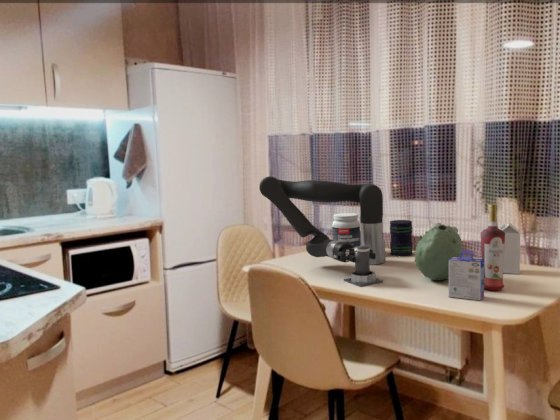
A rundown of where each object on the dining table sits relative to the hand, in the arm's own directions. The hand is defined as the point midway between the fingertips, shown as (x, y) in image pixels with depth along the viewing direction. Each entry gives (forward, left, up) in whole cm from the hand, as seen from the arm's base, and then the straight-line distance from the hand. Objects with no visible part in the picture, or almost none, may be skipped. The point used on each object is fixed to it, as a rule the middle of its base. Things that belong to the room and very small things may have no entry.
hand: (365, 258), depth 174 cm
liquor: (-28, +31, -9) cm, 43 cm away
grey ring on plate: (0, -2, -9) cm, 9 cm away
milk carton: (-51, +19, -9) cm, 55 cm away
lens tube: (0, -2, -8) cm, 8 cm away
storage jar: (-41, -29, -9) cm, 51 cm away
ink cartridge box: (-15, +32, -9) cm, 37 cm away
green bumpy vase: (-23, +12, -9) cm, 28 cm away
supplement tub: (-23, -46, -9) cm, 52 cm away
